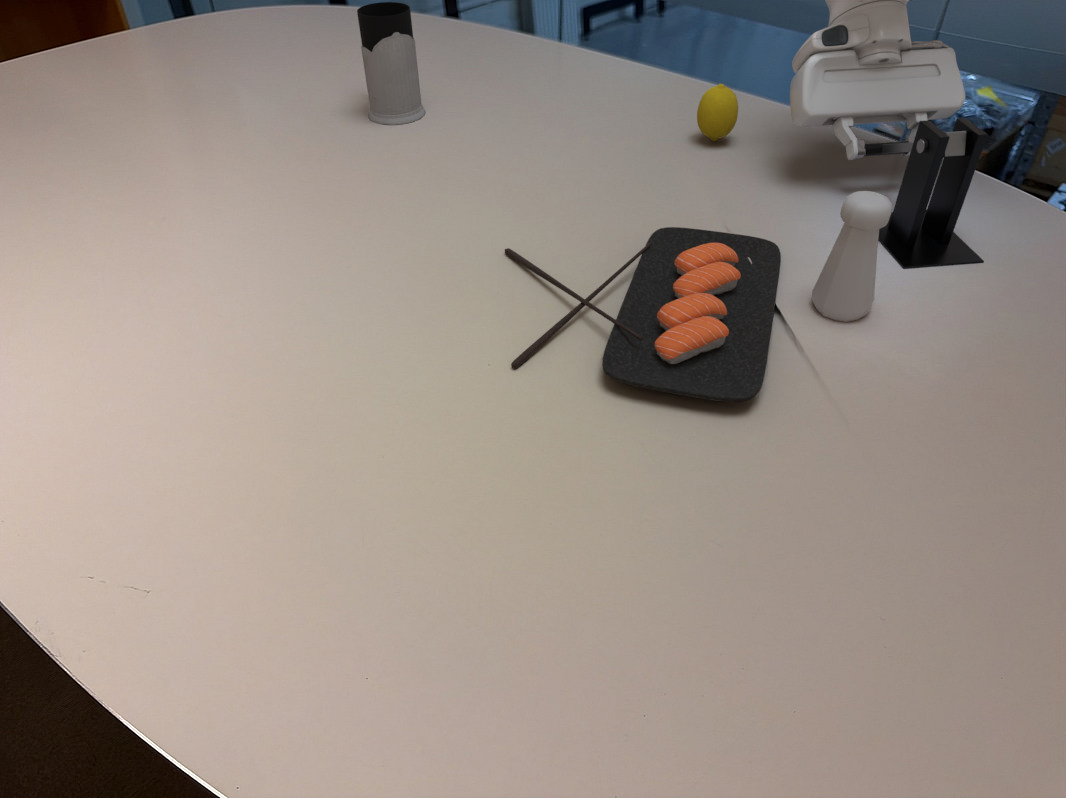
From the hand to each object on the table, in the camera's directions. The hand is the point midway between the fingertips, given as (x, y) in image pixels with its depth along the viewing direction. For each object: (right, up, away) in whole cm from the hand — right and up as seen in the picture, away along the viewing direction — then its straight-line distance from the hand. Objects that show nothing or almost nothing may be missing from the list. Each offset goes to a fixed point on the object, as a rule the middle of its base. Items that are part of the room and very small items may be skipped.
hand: (884, 156), depth 96 cm
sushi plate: (-33, -19, -12) cm, 40 cm away
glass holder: (-64, +16, +30) cm, 73 cm away
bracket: (+1, -12, -5) cm, 13 cm away
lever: (+1, -2, -6) cm, 7 cm away
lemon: (-16, +7, +19) cm, 26 cm away
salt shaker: (-11, -21, -15) cm, 28 cm away
